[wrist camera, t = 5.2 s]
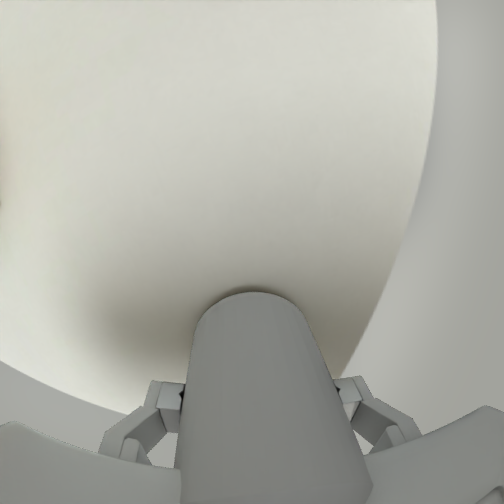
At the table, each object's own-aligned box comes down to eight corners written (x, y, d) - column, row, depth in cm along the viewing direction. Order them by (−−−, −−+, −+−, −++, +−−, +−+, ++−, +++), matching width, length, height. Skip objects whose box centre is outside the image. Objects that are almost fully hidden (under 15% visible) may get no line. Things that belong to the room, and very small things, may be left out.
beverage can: (220, 267, 14) (201, 537, 2) (326, 307, 15) (429, 501, 4) (182, 355, 15) (151, 547, 4) (275, 382, 17) (308, 552, 5)
